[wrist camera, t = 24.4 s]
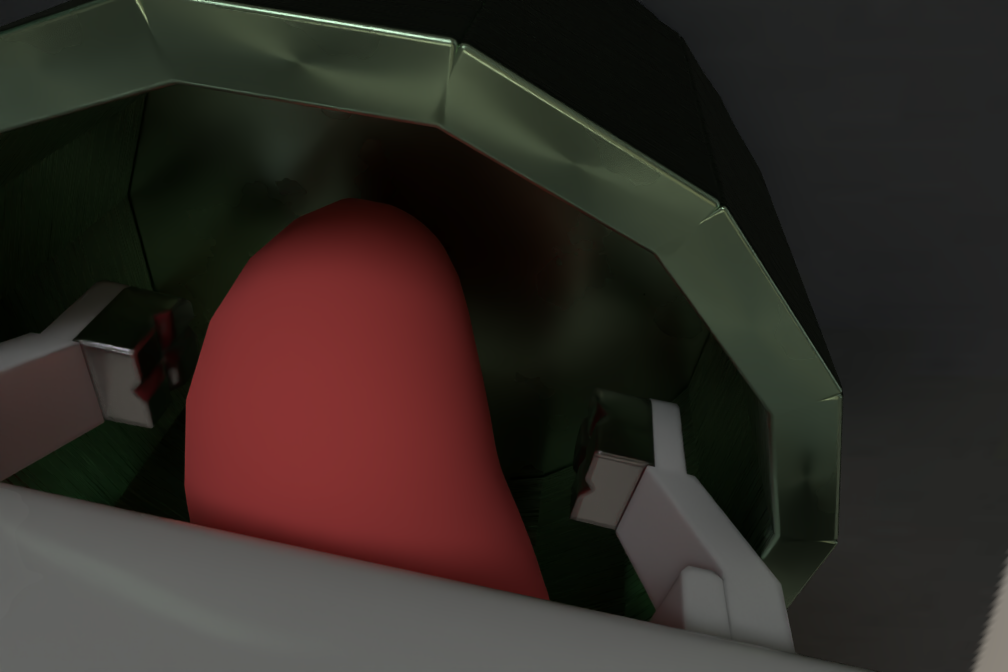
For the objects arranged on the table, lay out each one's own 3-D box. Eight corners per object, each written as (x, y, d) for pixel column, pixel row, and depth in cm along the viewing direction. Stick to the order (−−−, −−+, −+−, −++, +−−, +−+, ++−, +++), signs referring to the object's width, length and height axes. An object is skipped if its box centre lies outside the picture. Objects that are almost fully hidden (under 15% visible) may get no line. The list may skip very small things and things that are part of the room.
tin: (656, 522, 19) (668, 764, 14) (179, 435, 19) (38, 642, 14) (897, -17, 10) (1145, 151, 5) (7, -158, 10) (-499, -118, 6)
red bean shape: (300, 582, 16) (276, 892, 10) (154, 217, 12) (-19, 406, 6) (512, 525, 16) (598, 788, 11) (446, 160, 12) (530, 285, 7)
